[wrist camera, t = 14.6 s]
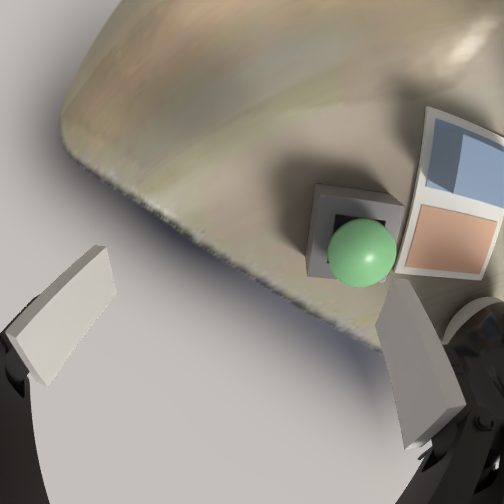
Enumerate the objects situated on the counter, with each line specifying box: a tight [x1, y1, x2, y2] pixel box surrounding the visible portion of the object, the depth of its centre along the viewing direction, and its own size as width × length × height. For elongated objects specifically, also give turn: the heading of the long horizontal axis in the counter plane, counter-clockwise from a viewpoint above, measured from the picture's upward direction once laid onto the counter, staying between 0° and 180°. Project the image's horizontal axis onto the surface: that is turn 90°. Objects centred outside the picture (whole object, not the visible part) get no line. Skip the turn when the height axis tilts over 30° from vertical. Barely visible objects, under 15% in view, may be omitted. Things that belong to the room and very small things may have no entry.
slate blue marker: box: [427, 129, 504, 209], centre depth 15 cm, size 9×4×4 cm, turn 87°
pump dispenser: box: [442, 297, 504, 419], centre depth 17 cm, size 10×10×15 cm
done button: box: [328, 218, 396, 287], centre depth 17 cm, size 4×4×3 cm
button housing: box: [305, 183, 405, 283], centre depth 19 cm, size 6×6×3 cm
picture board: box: [394, 106, 504, 281], centre depth 18 cm, size 14×11×1 cm
